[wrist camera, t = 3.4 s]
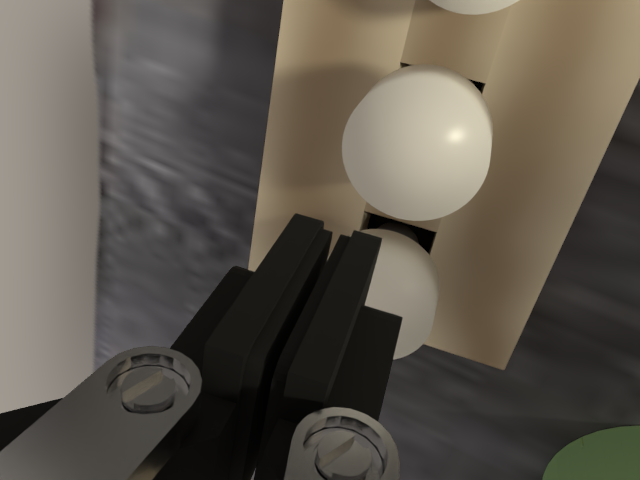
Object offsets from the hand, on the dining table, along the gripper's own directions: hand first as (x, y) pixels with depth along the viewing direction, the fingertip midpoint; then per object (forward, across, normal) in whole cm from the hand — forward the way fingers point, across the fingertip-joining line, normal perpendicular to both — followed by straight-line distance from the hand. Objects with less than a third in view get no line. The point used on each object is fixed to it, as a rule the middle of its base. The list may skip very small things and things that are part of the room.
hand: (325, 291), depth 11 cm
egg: (+13, -1, +6) cm, 14 cm away
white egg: (+13, -1, 0) cm, 13 cm away
